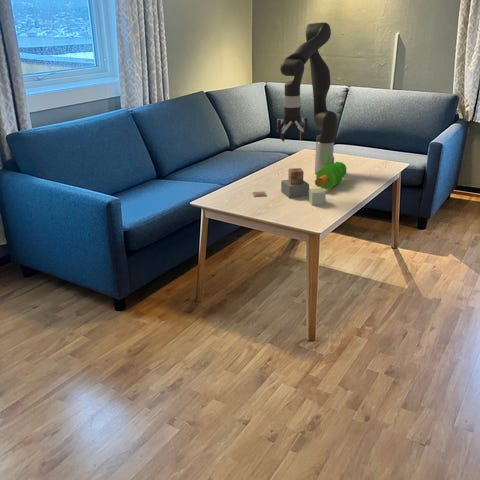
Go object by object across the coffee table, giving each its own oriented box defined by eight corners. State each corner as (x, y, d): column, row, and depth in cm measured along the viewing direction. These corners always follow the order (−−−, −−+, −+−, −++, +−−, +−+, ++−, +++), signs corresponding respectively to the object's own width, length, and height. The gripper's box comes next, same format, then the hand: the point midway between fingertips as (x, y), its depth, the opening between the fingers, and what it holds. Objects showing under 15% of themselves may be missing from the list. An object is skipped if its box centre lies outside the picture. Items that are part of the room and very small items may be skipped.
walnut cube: (300, 180, 253) (301, 168, 251) (303, 184, 248) (303, 171, 246) (288, 180, 253) (288, 168, 251) (290, 184, 248) (290, 172, 245)
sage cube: (321, 200, 244) (322, 188, 242) (325, 204, 239) (325, 192, 236) (308, 201, 243) (309, 188, 241) (312, 205, 238) (312, 193, 235)
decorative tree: (314, 167, 251) (340, 150, 273) (306, 186, 257) (332, 169, 280) (334, 179, 247) (359, 161, 269) (325, 198, 254) (350, 179, 276)
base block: (300, 189, 259) (300, 178, 256) (308, 196, 250) (309, 184, 248) (281, 192, 256) (281, 180, 254) (289, 198, 247) (289, 186, 245)
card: (264, 192, 256) (264, 190, 256) (266, 196, 251) (266, 194, 250) (252, 192, 255) (252, 191, 255) (254, 196, 250) (254, 195, 250)
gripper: (305, 103, 245) (304, 137, 252) (275, 105, 243) (275, 139, 250) (309, 105, 238) (309, 141, 245) (278, 107, 236) (279, 143, 243)
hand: (292, 140), depth 247 cm, fingers open, 8 cm apart
